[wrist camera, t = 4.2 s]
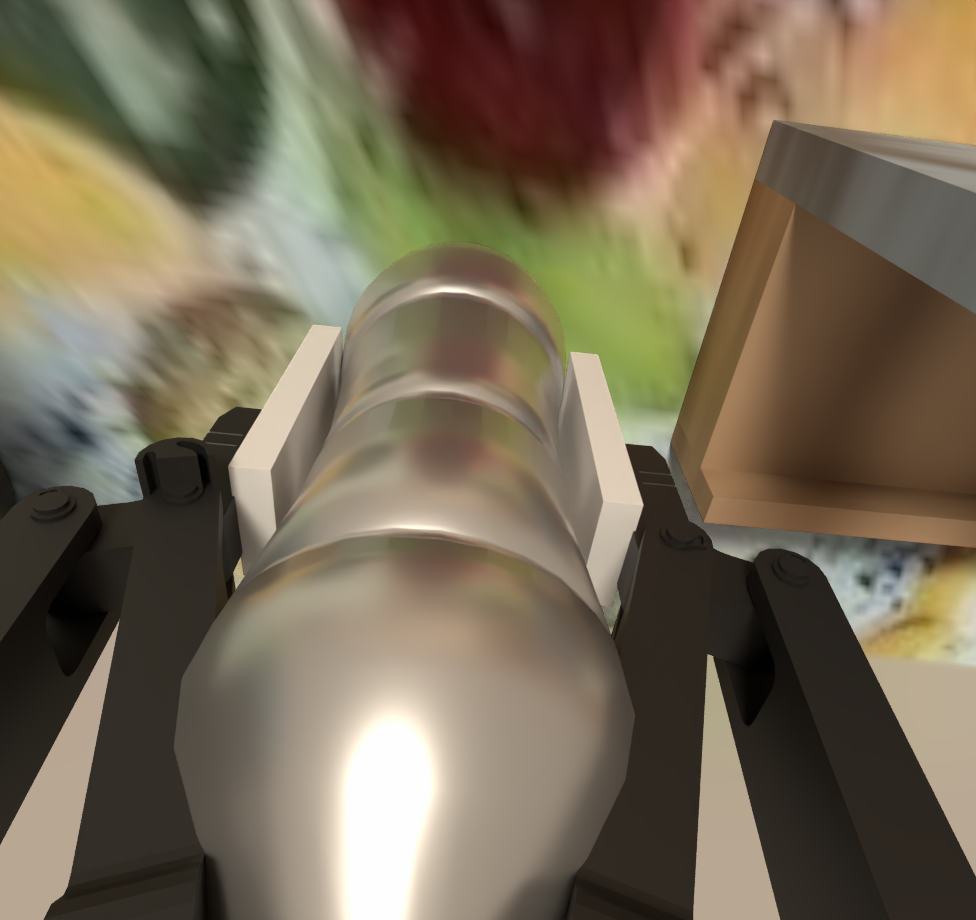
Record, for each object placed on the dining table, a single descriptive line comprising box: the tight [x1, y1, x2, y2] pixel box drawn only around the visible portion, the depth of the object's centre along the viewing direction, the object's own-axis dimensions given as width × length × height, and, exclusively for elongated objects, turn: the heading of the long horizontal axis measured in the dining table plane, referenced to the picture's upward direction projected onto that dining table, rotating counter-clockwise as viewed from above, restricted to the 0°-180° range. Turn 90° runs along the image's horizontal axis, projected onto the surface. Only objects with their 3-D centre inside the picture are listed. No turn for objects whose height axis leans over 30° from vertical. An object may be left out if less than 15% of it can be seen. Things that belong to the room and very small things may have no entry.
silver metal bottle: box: [174, 242, 635, 920], centre depth 13 cm, size 6×7×20 cm
